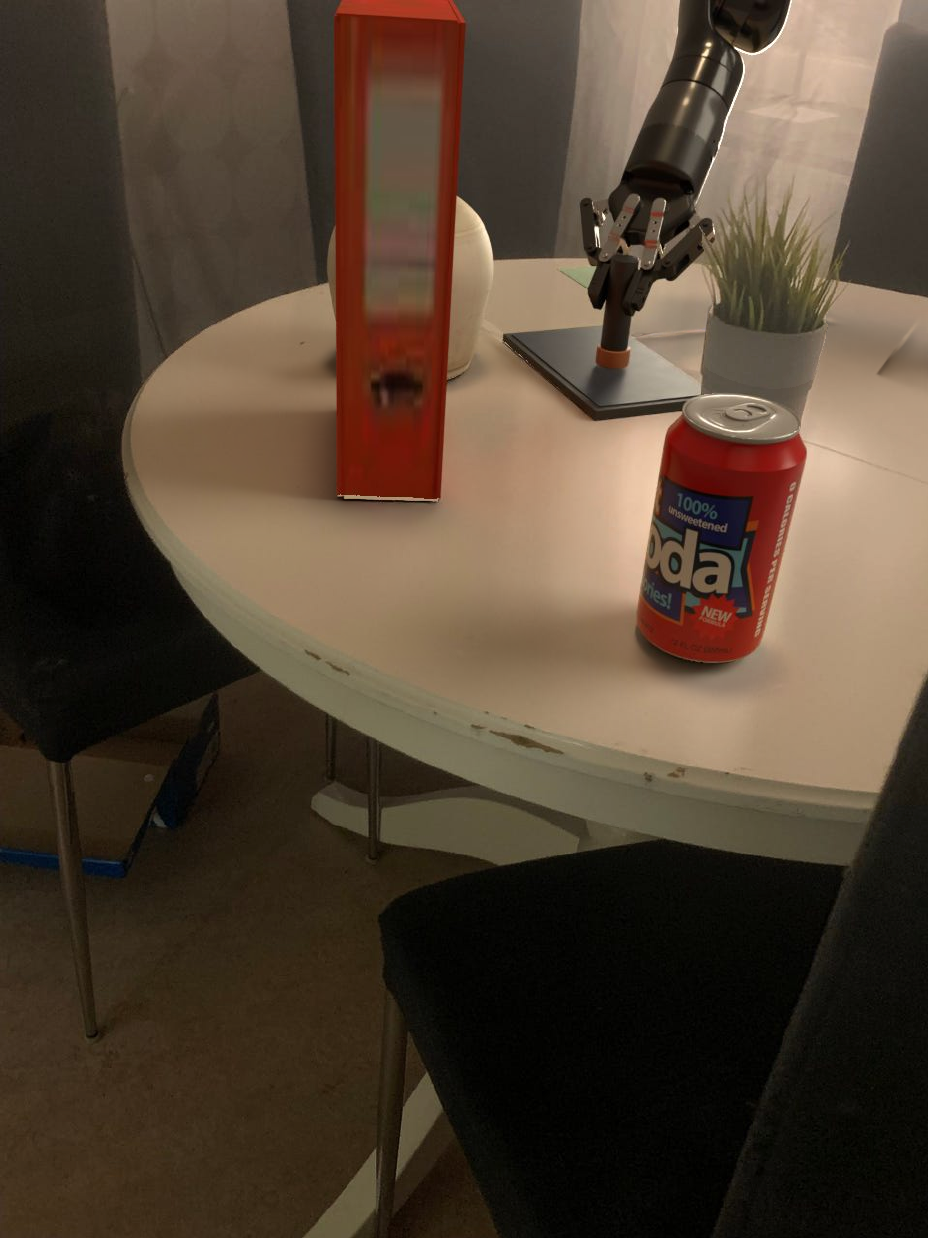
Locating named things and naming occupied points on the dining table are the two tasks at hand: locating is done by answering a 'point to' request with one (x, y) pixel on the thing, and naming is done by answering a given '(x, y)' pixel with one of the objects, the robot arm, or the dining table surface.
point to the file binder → (394, 238)
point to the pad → (580, 274)
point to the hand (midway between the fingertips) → (611, 307)
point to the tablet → (605, 373)
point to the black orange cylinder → (616, 314)
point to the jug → (456, 285)
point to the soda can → (720, 526)
